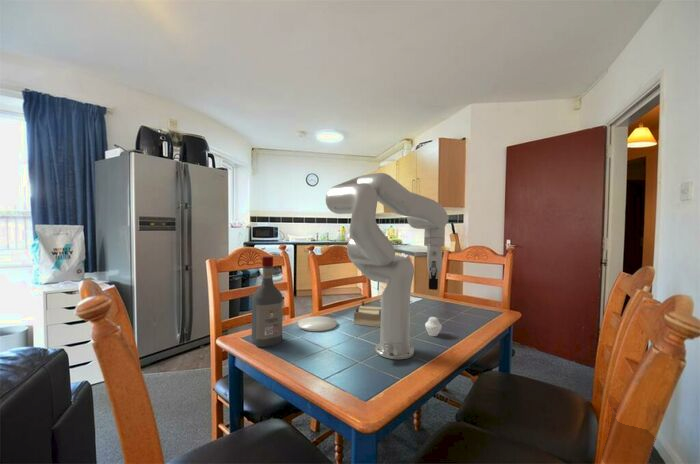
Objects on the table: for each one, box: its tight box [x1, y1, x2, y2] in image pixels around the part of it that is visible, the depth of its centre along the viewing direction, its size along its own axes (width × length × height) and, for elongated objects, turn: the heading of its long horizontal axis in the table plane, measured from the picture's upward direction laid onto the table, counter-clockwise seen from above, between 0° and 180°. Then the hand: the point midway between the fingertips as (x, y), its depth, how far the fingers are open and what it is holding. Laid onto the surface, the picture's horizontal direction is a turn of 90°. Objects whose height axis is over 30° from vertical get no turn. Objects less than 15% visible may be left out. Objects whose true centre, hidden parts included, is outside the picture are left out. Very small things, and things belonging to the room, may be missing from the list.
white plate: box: [297, 315, 338, 332], centre depth 123 cm, size 16×16×1 cm
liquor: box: [251, 255, 284, 348], centre depth 105 cm, size 9×9×30 cm
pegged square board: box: [353, 300, 381, 328], centre depth 129 cm, size 12×12×7 cm
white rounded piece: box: [424, 316, 443, 337], centre depth 114 cm, size 6×6×7 cm
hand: (433, 286), depth 114 cm, fingers open, 9 cm apart
